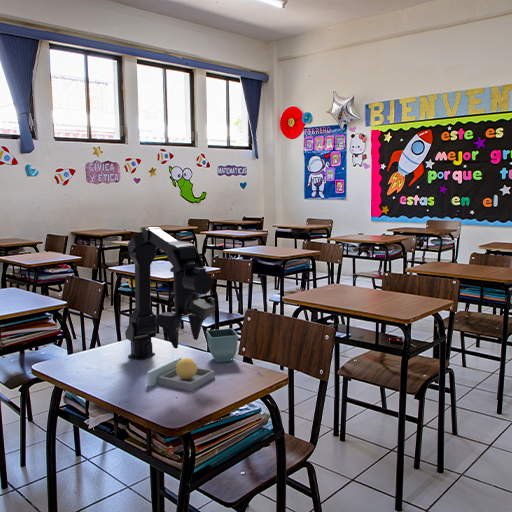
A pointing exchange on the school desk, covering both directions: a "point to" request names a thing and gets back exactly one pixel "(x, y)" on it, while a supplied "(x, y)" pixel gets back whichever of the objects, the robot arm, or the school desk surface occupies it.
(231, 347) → the flower pot
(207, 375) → the dish
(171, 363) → the wall
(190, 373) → the ball
